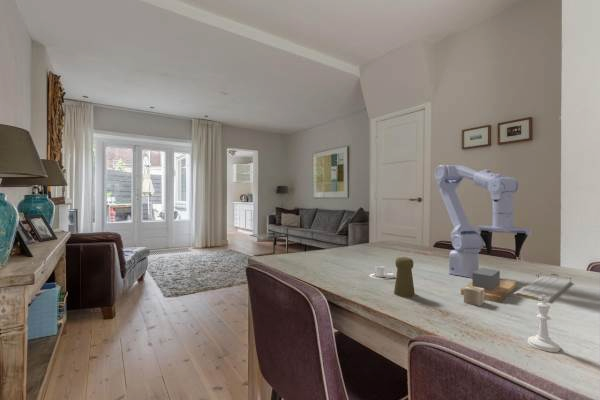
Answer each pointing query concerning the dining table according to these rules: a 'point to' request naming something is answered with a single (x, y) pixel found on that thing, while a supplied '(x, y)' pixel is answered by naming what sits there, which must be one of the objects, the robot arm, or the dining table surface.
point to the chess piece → (543, 330)
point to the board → (498, 290)
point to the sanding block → (486, 279)
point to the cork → (404, 277)
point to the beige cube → (474, 295)
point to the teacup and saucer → (381, 273)
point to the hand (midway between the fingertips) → (503, 255)
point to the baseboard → (543, 288)
